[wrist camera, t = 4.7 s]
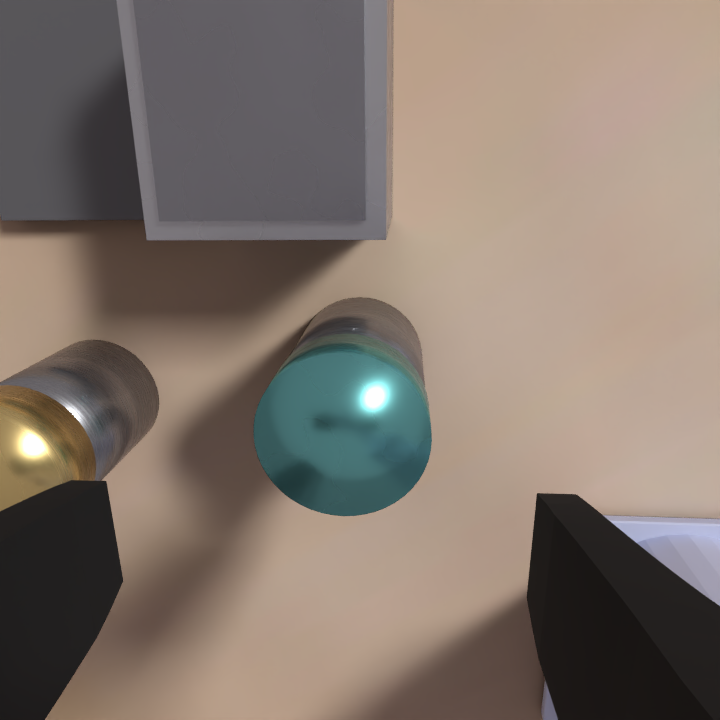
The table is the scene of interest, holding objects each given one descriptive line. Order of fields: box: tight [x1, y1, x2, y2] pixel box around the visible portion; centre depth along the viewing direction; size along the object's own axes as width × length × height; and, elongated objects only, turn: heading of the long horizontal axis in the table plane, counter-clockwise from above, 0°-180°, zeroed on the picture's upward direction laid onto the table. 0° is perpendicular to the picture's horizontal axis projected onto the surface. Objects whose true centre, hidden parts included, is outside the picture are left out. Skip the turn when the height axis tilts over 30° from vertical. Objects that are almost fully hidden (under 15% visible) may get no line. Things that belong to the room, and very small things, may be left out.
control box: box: [116, 0, 393, 240], centre depth 14 cm, size 6×5×6 cm
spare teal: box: [254, 297, 432, 516], centre depth 16 cm, size 4×4×6 cm
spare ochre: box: [0, 340, 159, 511], centre depth 17 cm, size 4×4×6 cm
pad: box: [0, 0, 144, 220], centre depth 17 cm, size 6×6×1 cm
